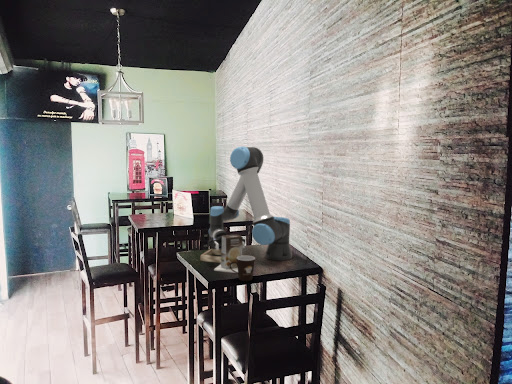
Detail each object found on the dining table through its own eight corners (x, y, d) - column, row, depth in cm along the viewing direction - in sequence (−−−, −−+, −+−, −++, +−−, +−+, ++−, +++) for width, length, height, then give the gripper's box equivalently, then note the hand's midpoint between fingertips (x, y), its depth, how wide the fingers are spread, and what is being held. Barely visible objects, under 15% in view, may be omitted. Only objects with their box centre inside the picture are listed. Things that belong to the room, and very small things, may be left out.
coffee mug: (254, 276, 184) (255, 255, 183) (254, 282, 176) (254, 260, 175) (230, 275, 185) (231, 255, 184) (229, 281, 176) (229, 260, 175)
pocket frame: (235, 256, 218) (235, 251, 218) (226, 263, 204) (226, 257, 204) (211, 253, 223) (211, 248, 222) (200, 260, 208) (200, 255, 208)
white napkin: (248, 266, 199) (248, 265, 199) (240, 273, 188) (240, 271, 188) (222, 263, 203) (222, 262, 203) (214, 270, 192) (214, 268, 192)
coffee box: (225, 269, 190) (226, 238, 189) (220, 266, 196) (221, 235, 194) (242, 267, 195) (243, 236, 193) (237, 264, 200) (237, 233, 199)
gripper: (241, 242, 219) (254, 251, 199) (198, 244, 211) (206, 255, 191) (242, 229, 218) (254, 237, 198) (198, 231, 210) (206, 240, 190)
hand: (231, 246), depth 194 cm, fingers open, 13 cm apart
